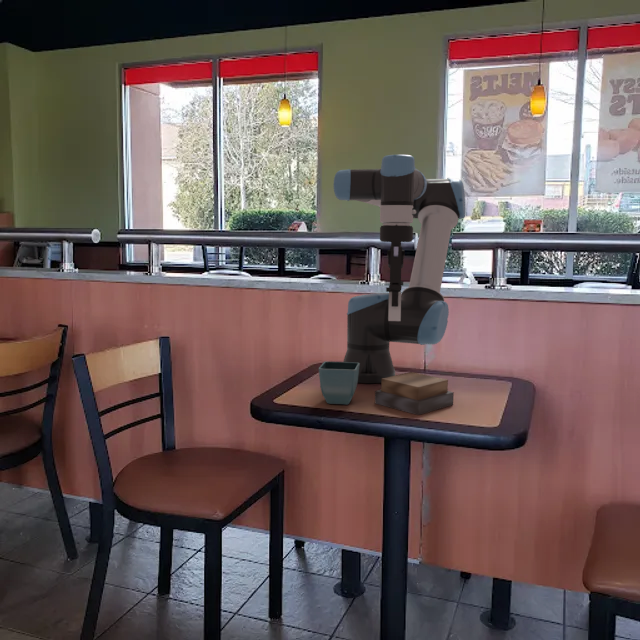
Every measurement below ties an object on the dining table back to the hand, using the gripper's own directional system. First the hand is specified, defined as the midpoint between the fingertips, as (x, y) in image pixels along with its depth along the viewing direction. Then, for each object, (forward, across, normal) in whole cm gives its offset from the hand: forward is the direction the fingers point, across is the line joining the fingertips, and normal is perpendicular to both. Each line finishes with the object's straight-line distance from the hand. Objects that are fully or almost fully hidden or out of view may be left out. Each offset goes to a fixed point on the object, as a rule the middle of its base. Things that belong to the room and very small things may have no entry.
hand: (394, 316), depth 151 cm
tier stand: (+21, -1, -5) cm, 21 cm away
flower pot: (+21, -2, +13) cm, 24 cm away
